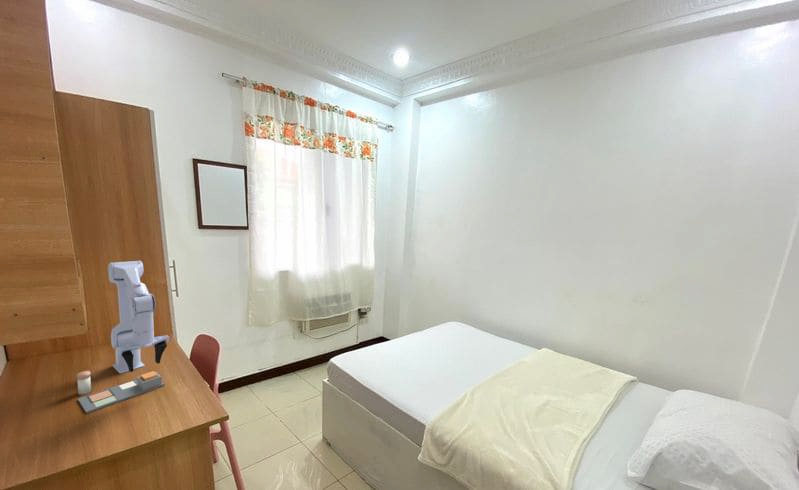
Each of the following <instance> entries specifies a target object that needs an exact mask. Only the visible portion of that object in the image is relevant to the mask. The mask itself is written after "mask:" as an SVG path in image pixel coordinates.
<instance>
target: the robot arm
mask: <svg viewBox="0 0 799 490" xmlns="http://www.w3.org/2000/svg"><path fill="white" fill-rule="evenodd" d="M107 269H108V270H107V272H108V280H109V283H113V284H115V285H116V287H117V288H116V289H117V299H118V315H119V323H118V324H117V325H115V327H113V328H112V329H111V333H110V344H111V347H112V348H113V349H115V351H114V352H115V364H113V365H112V368H114V370H116V371H117V372H118V374H120V375H121V374H123V373H126V372H130V373H133V372H134V370H136V369H140V368H143V367H145V366H146V365H145V364H144V362H143V361H142V359H141V349H143V348H144V349H145V348H146V349H147V348H149V347H150V348H151V346H153V347H154V352H155V353H154V360H155V363H156V364H157V365H159V364H160V363H161V360H162V357H163V356H162V355H163V353H164V352H165V350H166V348H167V347H168V344H167V342H170V336H169V335H168V334H166V335H165V334H164V335H158V336H155V330H154V328H155V327H154V326H155V324H154V323H155V322H154V312H155V310H156V306H157V304H156V299H155V296H154V294H153V293H150V292H149V289H148V288H147V285H146V284H145V283H143V282H141V279H140V278H141V277H142V276H143V274H144V272H145V271H144V264H143V262H142V261H141V260H135V261H134V260H133V261H130V260H129V261H118V262H116V261H115V262H112V261H111V262H109V263H108V266H107Z"/></svg>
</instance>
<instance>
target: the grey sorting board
mask: <svg viewBox="0 0 799 490" xmlns="http://www.w3.org/2000/svg"><path fill="white" fill-rule="evenodd" d="M154 372H155V373H156V374H157V377H156V378H153V379H150V380H147V381H143V380H142V379H141V375H140V376H137V377H136V379H133V380H131V381H128V382H125V383H122V384H119V385H115V386H112V387H109V388H106V389H103V390H100V391H96V392H94V393H91V394H87V395H85V396H81V397H78V398H77V401H78V403H79V405H80V406H81V407H82V409H83V410H84V412H85V414H89V413H92V412H95V411H97V410H101V409H103V408H107V407H108V406H111V405H114V404H118V403H119V402H123V401H125V400H129V399H131V398H133V397H136V396H139V395H142V394H145V393H147V392H150V391H153V390H155V389H158V388H162V387H164V386H165V383H164V382H163V381H162V376H161V375H160V374H159V373H158V372H157V371H154Z"/></svg>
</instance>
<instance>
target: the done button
mask: <svg viewBox="0 0 799 490" xmlns="http://www.w3.org/2000/svg"><path fill="white" fill-rule="evenodd" d="M140 376H141V379H142V380H143V381H147V380H150V379H153V378H156V377H157V374H156V373H155V371H153V370H152V371H150V372H146V373H144V374H141V375H140Z"/></svg>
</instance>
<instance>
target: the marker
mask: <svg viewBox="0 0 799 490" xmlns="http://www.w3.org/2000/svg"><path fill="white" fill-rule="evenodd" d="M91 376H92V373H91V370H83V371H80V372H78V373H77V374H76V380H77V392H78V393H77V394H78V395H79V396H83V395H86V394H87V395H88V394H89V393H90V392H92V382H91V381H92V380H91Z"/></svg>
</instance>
